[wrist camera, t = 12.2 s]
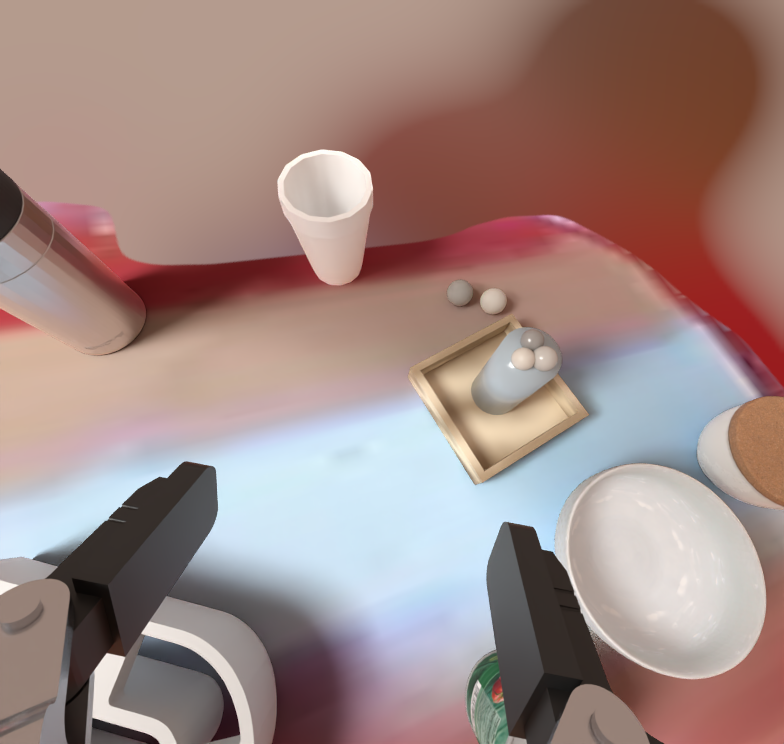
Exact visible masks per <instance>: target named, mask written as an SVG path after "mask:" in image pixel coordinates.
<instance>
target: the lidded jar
mask: <svg viewBox="0 0 784 744" xmlns="http://www.w3.org/2000/svg"><path fill="white" fill-rule="evenodd" d="M697 460H698V463H699V466H700V468H701V469H702V471H703V473H704V474H705V475H706V476H707V477H708V478H709V479H710V480H711V481H712V482H713V483H714V484H715V485H716V486H717V487H718V488H719V489H720V490H722V491H723V492H725V493H726V494H728V495H730V496H731V497H733V498H735V499H737V500H739V501H742V502H744V503H747V504H751V505H754V506H758V507H763V508H770V509H778V510H784V397H778V396H767V397H761V398H757V399H754V400H752V401H749V402H747V403H745V404H742V405H739V406H736V407H734V408H731V409H729V410H727V411H725V412H723V413H721V414H719V415H718V416H716V417H715V418H713V419H712V420H711V421H710V422H709V423H708V424H707V425H706V426H705V427H704V429H703V430H702V432H701V434H700V437H699V439H698V445H697Z"/></svg>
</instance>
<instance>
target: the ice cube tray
mask: <svg viewBox="0 0 784 744" xmlns="http://www.w3.org/2000/svg"><path fill="white" fill-rule="evenodd" d="M57 567H58V566H54V565H51V564H47V563H43V562H40V561H36V560H32V559H28V558H24V557H17V558H9V559H1V560H0V595H1V594H3V593H4V592H6V591H8V590H10V589H12V588H14V587H16V586H18V585H21V584H24V583H27V582H30V581H34V580H39V579H45V578H46V577H48V576H49V575H50V574H51V573H52V572H53V571H54V570H55V569H56V568H57ZM145 635H147V636H151V637H154V638H158V639H161V640H165V641H169V642H172V643H176V644H179V645H181V646H184V647H187V648H189V649H191V650H193V651H194V652H196V653H198V654H199V655H200V656H202V657H203V658H204V659H205V660H206V661H208V662H209V663H210V664H211V665H212V667H213V668H214V669H215V670H216V671H217V672H218V674H219V675H220V676H221V678H222V679H223V681H224V683H225V685H226V687H227V689H228V691H229V693H230V695H231V697H232V700H233V703H234V706H235V709H236V713H237V717H238V721H239V728H240V735H238V736H234V737H230V738H226V739H221V740H217V741H213V742H210V741H211V740H212V738H213V737H214V735H215V734H216V732H217V730H218V728H219V725H220V723H221V720H222V715H223V709H224V701H223V696H222V692H221V689H220V687H219V685H218V684H217V682H216V681H215V680H214V679H213V678H212V677H210V676H209V675H207V674H204V673H201V672H198V671H194V670H191V669H187V668H183V667H180V666H176V665H173V664H169V663H166V662H162V661H158V660H155V659H151V658H148V657H144V656H141V655H137V654H138V652H139V649H140V647H141V644H142V642H143V639H144V637H145ZM94 674H95V681H94V698H93V715H92V718H95V719H99V720H102V721H106V722H109V723H112V724H116V725H119V726H123V727H126V728H130V729H133V730H137V731H140V732H144V733H147V734H149V735H151V736H153V737H155V738H156V739H157V740H158V741H159V743H160V744H272V741H273V736H274V731H275V726H276V716H277V694H276V683H275V676H274V671H273V667H272V664H271V661H270V658H269V655H268V653H267V651H266V649H265V647H264V645H263V643H262V642H261V640H260V639H259V637H258V636H257V635H256V634H255V632H254V631H253V630H252V629H251V628H250V627H249V626H248V625H247V624H245V623H244V622H243V621H242V620H240V619H239V618H237V617H235V616H233V615H231V614H229V613H226V612H223V611H220V610H216V609H213V608H209V607H205V606H202V605H198V604H194V603H191V602H187V601H183V600H179V599H176V598H172V597H168V596H166V598H165V599H164V600H163V602H162V603H161V605H160V606H159V608H158V609H157V611H156V612H155V614H154V615H153V617H152V618H151V620H150V621H149V623H148V624H147V626H146V627H145V629H144V630H143V632H142V633H141V635H140V636H139V637H138V639H137V640H136V642H135V643H134V645H133V646H132V648H131V649H130V651H129V652H128V654H127V655H126V657H123V656H118V655H113V654H108V653H106V655H105V656H104V658H103V659H102V660H101V662H100V663H99V665H98V666H97V667H96V669H95V670H94ZM91 744H147V743H144V742H141V741H137V740H134V739H130V738H127V737H123V736H120V735H116V734H113V733H110V732H106V731H103V730H99V729H96V728H92V732H91Z"/></svg>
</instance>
